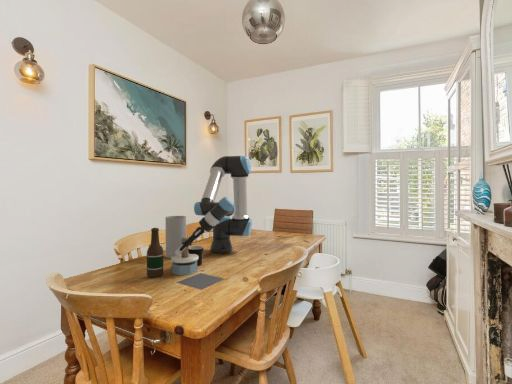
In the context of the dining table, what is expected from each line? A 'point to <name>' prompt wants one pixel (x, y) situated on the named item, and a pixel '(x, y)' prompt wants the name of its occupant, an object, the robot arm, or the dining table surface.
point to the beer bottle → (155, 256)
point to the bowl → (184, 268)
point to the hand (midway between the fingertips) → (177, 253)
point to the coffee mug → (197, 253)
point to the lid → (184, 256)
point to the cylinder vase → (174, 233)
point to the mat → (200, 281)
